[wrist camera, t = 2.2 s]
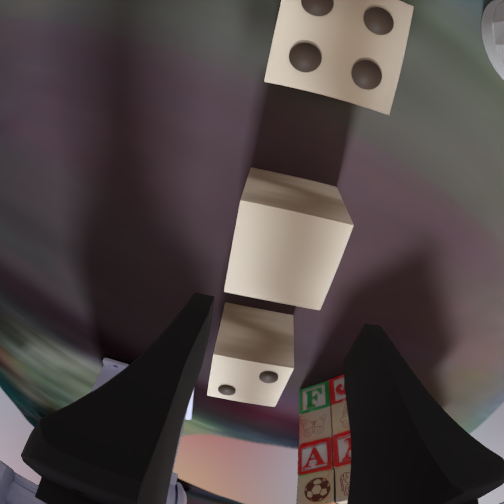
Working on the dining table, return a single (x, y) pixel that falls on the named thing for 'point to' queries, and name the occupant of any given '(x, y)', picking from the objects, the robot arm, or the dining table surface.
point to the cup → (494, 34)
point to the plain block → (287, 239)
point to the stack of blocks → (324, 444)
